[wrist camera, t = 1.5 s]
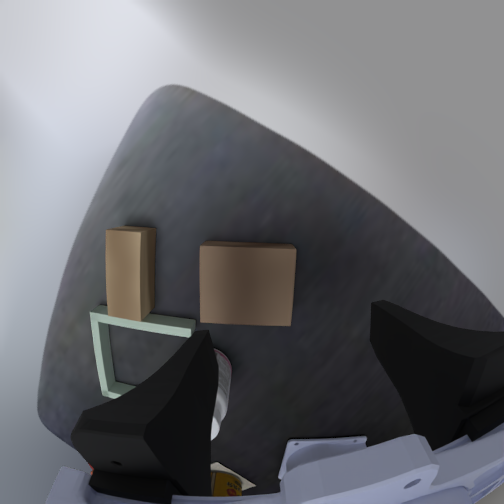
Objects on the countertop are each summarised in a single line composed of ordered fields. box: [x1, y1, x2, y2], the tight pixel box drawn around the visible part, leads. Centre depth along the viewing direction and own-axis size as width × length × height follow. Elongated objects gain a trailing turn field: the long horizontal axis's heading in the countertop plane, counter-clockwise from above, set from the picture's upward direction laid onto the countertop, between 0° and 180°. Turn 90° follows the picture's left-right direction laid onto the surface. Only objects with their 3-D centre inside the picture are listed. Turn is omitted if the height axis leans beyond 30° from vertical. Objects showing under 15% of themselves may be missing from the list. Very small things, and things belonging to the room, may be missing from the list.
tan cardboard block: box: [200, 241, 297, 326], centre depth 23 cm, size 7×6×3 cm
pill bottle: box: [211, 348, 232, 440], centre depth 22 cm, size 5×5×8 cm
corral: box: [90, 305, 196, 399], centre depth 25 cm, size 10×10×2 cm
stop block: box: [106, 226, 156, 322], centre depth 23 cm, size 3×7×4 cm, turn 175°
